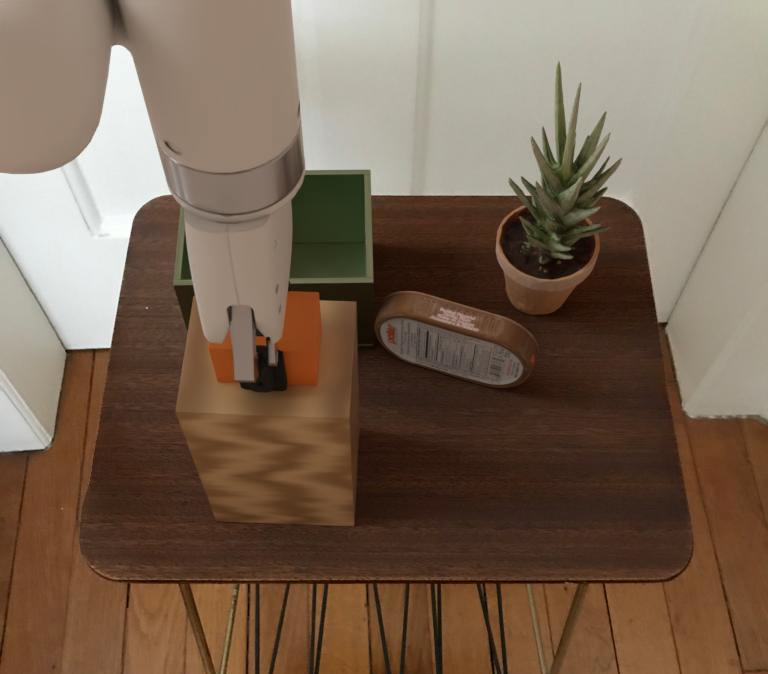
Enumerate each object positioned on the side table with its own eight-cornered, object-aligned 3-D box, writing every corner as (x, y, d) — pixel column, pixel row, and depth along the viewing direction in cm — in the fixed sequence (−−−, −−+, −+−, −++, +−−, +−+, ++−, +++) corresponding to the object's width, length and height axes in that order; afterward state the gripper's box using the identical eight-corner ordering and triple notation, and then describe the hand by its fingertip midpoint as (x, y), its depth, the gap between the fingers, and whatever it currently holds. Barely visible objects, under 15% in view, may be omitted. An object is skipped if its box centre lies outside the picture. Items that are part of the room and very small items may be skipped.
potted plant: (487, 252, 91) (524, 30, 69) (580, 255, 91) (648, 35, 69) (488, 332, 87) (528, 124, 65) (586, 336, 87) (660, 128, 65)
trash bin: (373, 348, 86) (373, 282, 77) (193, 351, 86) (173, 285, 77) (370, 241, 92) (370, 169, 83) (201, 244, 91) (183, 171, 83)
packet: (217, 382, 63) (207, 348, 59) (225, 324, 65) (216, 288, 61) (317, 386, 63) (314, 352, 59) (322, 327, 65) (318, 291, 61)
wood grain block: (216, 521, 78) (175, 411, 62) (228, 422, 82) (193, 295, 66) (354, 526, 78) (349, 417, 62) (359, 427, 82) (356, 301, 66)
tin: (531, 377, 85) (547, 321, 77) (523, 403, 83) (538, 350, 76) (381, 333, 87) (382, 275, 79) (370, 358, 85) (370, 302, 78)
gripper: (182, 37, 51) (228, 257, 67) (136, 274, 44) (200, 456, 60) (314, 41, 51) (328, 260, 67) (290, 279, 43) (313, 460, 60)
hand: (268, 351), depth 63 cm, fingers closed on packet, 5 cm apart
